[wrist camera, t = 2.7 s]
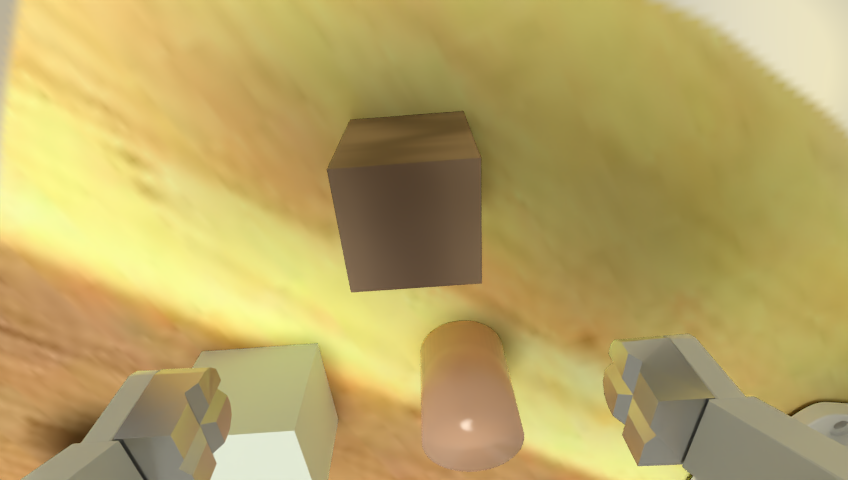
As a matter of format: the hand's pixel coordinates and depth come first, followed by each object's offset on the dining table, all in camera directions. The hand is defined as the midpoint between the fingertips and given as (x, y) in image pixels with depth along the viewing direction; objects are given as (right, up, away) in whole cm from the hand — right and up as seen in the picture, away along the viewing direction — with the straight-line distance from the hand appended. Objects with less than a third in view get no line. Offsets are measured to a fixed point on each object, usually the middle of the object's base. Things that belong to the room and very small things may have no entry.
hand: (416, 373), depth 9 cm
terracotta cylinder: (+2, -4, +17) cm, 18 cm away
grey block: (-9, -7, +19) cm, 22 cm away
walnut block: (0, +6, +11) cm, 13 cm away
